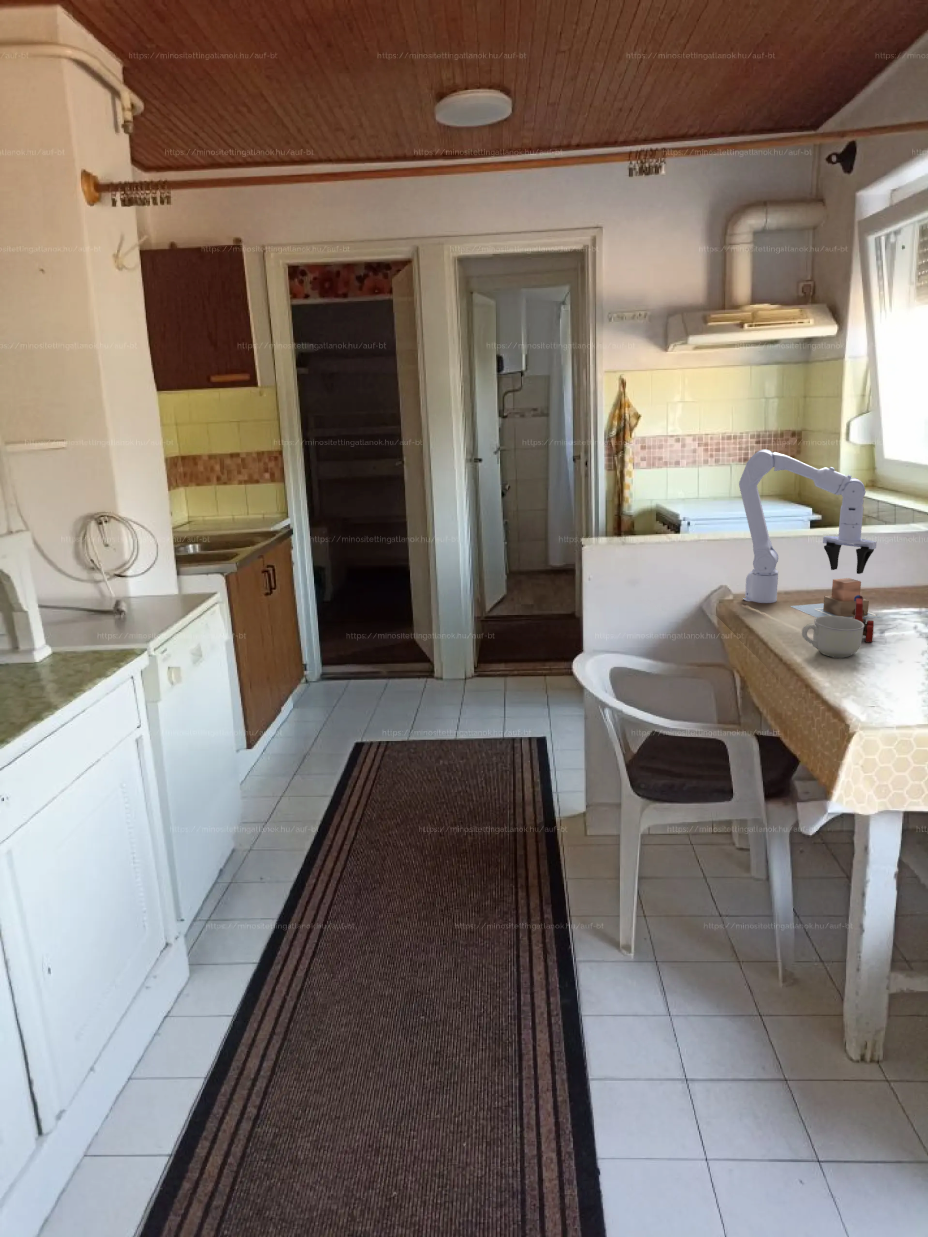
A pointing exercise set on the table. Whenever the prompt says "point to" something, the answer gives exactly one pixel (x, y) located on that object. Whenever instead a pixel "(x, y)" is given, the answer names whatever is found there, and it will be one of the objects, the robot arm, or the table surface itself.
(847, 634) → the teacup
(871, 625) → the toy fire truck
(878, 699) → the table surface
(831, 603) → the walnut slab
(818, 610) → the board
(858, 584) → the terracotta cube
